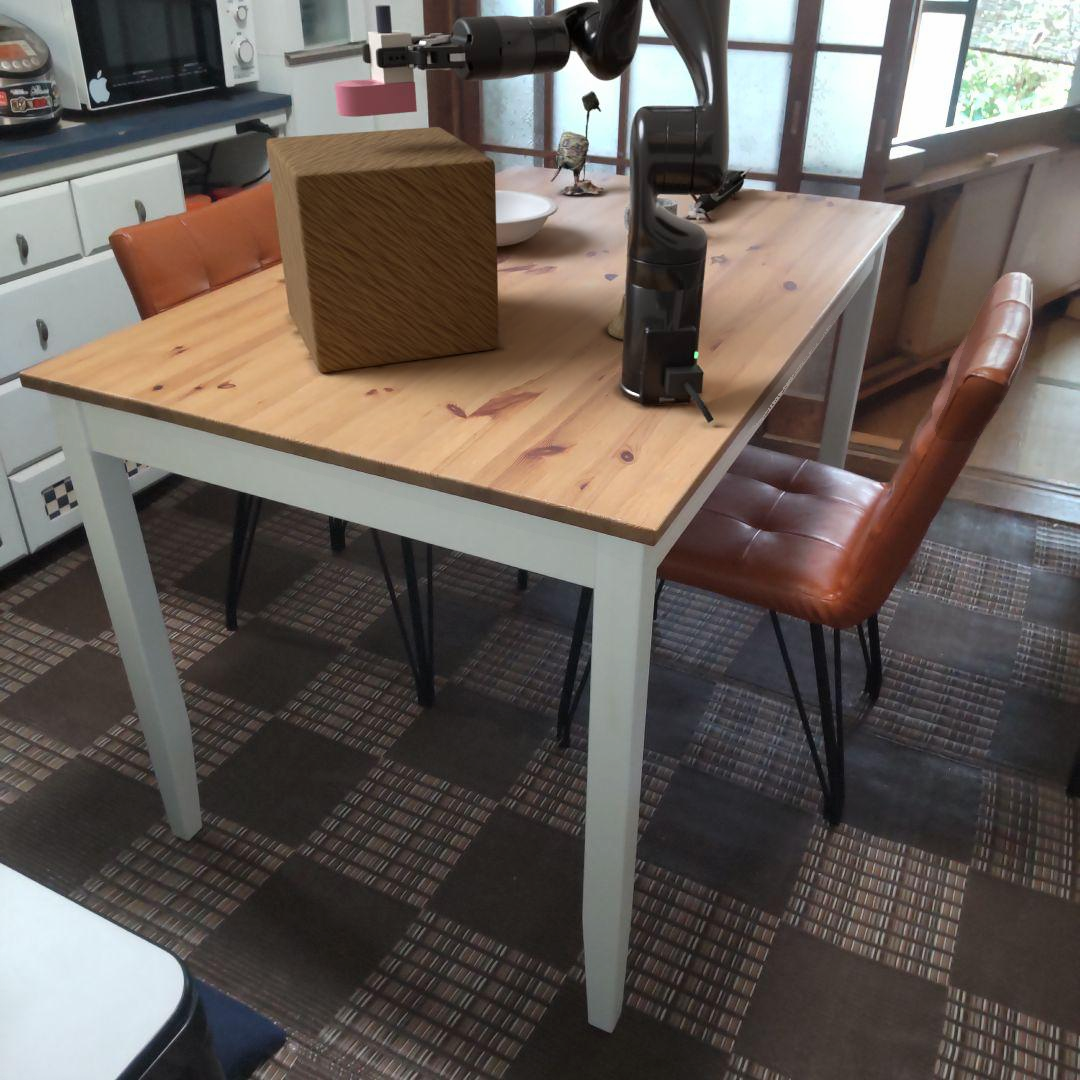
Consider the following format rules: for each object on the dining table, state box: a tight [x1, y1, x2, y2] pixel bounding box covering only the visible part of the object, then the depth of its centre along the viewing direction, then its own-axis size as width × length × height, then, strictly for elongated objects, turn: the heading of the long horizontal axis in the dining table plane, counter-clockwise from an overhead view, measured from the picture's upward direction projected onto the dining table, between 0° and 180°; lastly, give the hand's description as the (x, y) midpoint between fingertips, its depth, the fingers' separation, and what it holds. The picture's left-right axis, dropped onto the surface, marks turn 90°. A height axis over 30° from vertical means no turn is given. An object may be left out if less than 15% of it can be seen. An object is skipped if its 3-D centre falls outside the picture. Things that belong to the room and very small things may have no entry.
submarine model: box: [685, 168, 752, 223], centre depth 205 cm, size 31×7×10 cm
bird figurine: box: [550, 90, 604, 196], centre depth 212 cm, size 8×11×20 cm
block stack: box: [334, 4, 418, 118], centre depth 127 cm, size 10×5×12 cm, turn 118°
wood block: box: [266, 126, 500, 373], centre depth 139 cm, size 25×25×25 cm
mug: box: [623, 197, 678, 231], centre depth 185 cm, size 10×7×7 cm, turn 62°
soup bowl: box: [495, 189, 559, 247], centre depth 183 cm, size 24×24×7 cm
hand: (370, 56), depth 127 cm, fingers closed on block stack, 4 cm apart
